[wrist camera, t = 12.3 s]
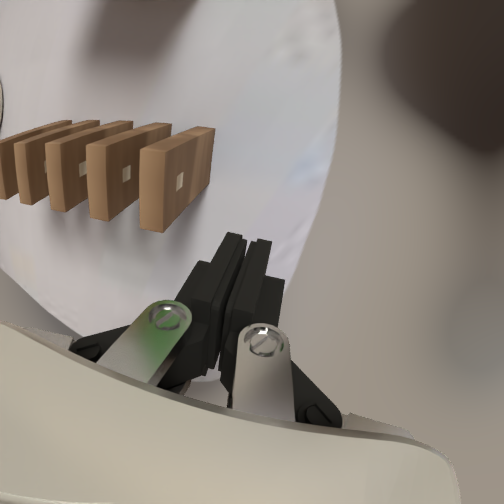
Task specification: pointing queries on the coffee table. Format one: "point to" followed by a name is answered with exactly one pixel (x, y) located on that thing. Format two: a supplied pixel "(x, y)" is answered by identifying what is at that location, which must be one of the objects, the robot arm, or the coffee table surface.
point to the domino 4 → (118, 169)
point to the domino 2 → (39, 161)
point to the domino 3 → (74, 164)
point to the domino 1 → (3, 158)
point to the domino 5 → (173, 176)
